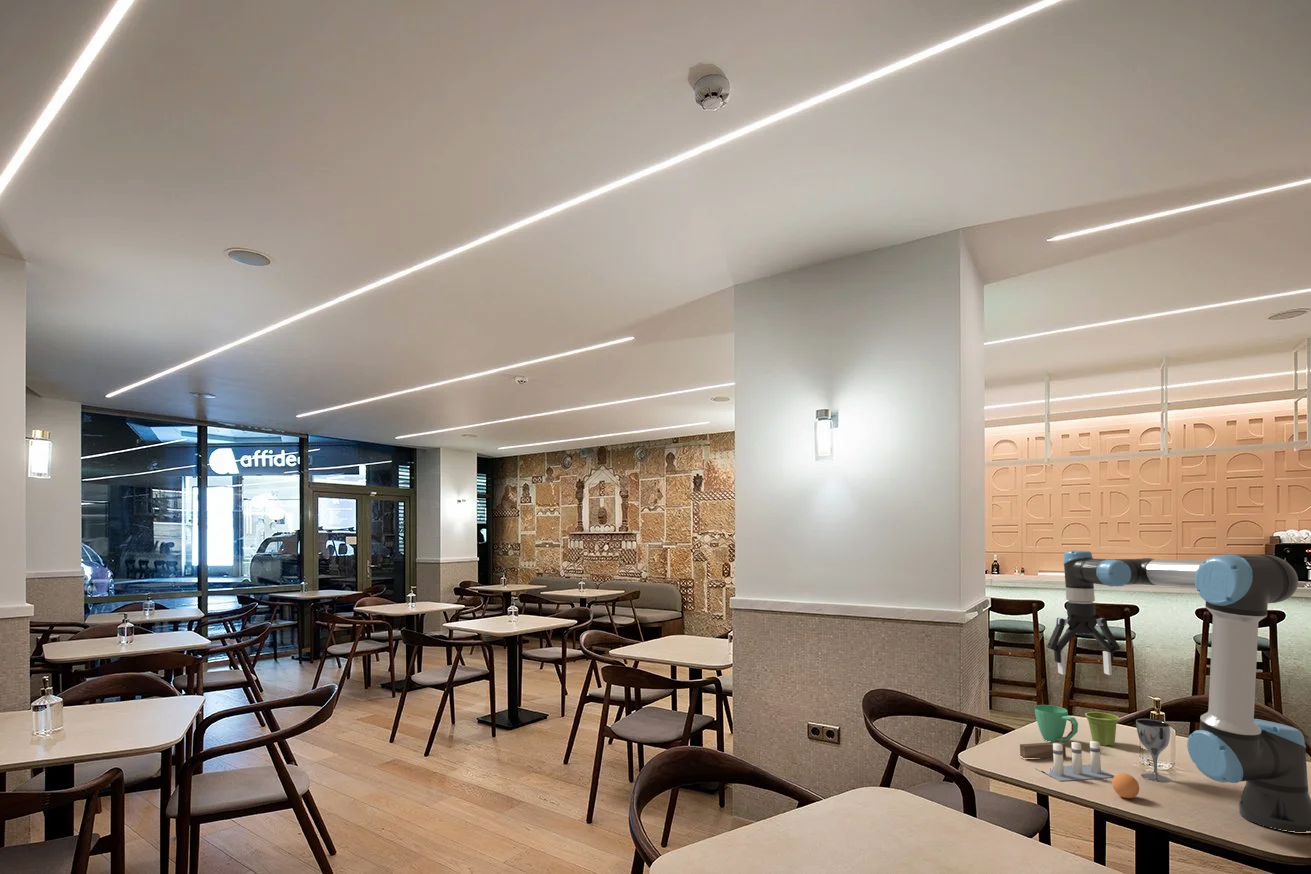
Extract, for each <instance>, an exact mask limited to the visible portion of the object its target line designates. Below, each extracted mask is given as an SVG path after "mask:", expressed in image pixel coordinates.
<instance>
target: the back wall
mask: <svg viewBox="0 0 1311 874" xmlns="http://www.w3.org/2000/svg"><path fill="white" fill-rule="evenodd" d="M1053 743H1059V744H1062V745H1063V759H1064V758H1065V757H1066V758H1067V749H1066V743H1064V742H1063V741H1061V742H1035V743H1020V744H1019V752H1020V756H1022V757H1023V758H1051V759H1054V757H1053ZM1066 758H1065V759H1066Z"/></svg>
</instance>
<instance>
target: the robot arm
mask: <svg viewBox="0 0 1311 874" xmlns="http://www.w3.org/2000/svg"><path fill="white" fill-rule="evenodd" d="M1063 569H1064V581H1065V583H1064V585H1065V599H1066V600H1067V602H1066V603H1065V604H1066V614H1067V617H1066V618H1062V617H1057V618H1056V625H1055V626H1054V627H1055V628H1054V629H1053V631H1052V634H1051V636H1050V638H1049V640H1048V643H1047V645H1046V647H1047V649H1049V650H1053V653H1054V654H1053V655H1054V661H1055V662H1056V663H1057V673H1058V674H1060V675H1063V676H1064V675H1066V665H1065V664H1066V662H1065V661H1066V660H1065V659H1066V658H1065V652H1064V651H1063V649H1064V648H1065V647H1066V646H1067V644H1068V643H1069V641H1071V639H1072V638H1073V636H1075V635H1077V634H1079V635H1081V634H1086V635H1092V637H1093V638H1094V639H1095V640H1096V641H1097V642H1098V644H1099V645H1100V646H1101V647H1102V648H1103V649H1104V650H1103V651H1102V661H1103V663H1102V664H1103V674H1105V675H1108V676H1112V675H1113V672H1112V669H1113V668H1112V664H1114V661H1115V660H1114V654H1115V653H1116V651H1120V650H1121V647H1120V646H1119V644H1118V642H1117V640H1116V639H1115V637H1114V635H1113V633H1112V631H1111V629H1110V627H1109V624H1108V621H1107V619H1106V618H1104V617H1103V618H1102V617H1098V618H1096V604H1095V603H1094V602H1095V601H1096V597H1095V589H1094V588H1095V586H1094V585H1095V584H1096V585H1102V586H1103V585H1104V586H1108V587H1124V586H1132V585H1133V586H1134V585H1138V586H1139V585H1140V586H1141V585H1146V586H1162V587H1178V588H1189V589H1190V588H1191V589H1196V591H1197V592H1199V593H1198V595H1200V597H1201V598H1202V599H1203V600H1204V601H1205V605H1204V606H1205V608H1206V610H1208V611H1209V613H1211V615H1212V623H1211V624H1212V629H1211V630H1212V631H1211V646H1210V647H1211V649H1210V669H1209V670H1210V672H1209V694H1208V710H1207V712H1205V713H1203V714H1201V715H1200V719H1199V729H1198V730H1197V729H1196V730H1194V731H1193V732H1192V733H1190V734H1189V736H1188V738H1187V741H1186V747H1187V751H1188V754H1189V757H1190V759H1191V761H1192V762H1193V764H1195V766H1196V768H1197V770H1198V771H1199V772H1201V773H1202V774H1203V775H1204V776H1206V778H1209V779H1210V780H1212V781H1215V782H1219V783H1230V784H1238V783H1239V782H1240V783H1241V782H1245V784H1244V787H1243V790H1242V793H1241V796H1240V800H1239V803H1238V809H1239V811H1238V813H1239V815H1240V816H1241V817H1242V818H1244V819H1245V820H1247V821H1248V822H1250V823H1253V822H1254V823H1253V824H1255V823H1257V824H1256V825H1258V824H1259V825H1258V826H1261V825H1264V826H1267V827H1272V828H1276V829H1281V830H1287V831H1295V832H1306V831H1311V797H1310V792H1309V782H1308V780H1309V779H1308V778H1309V777H1308V768H1307V767H1308V765H1307V753H1306V749H1307V746H1306V743H1305V737H1304V734H1303V732H1301V730H1300V729H1297V728H1295V727H1293V726H1290V725H1286V724H1283V723H1278V722H1276V721H1275V722H1274V721H1269V720H1265V719H1259V718H1254V717H1255V700H1256V676H1257V662H1258V661H1257V660H1258V659H1257V656H1258V640H1259V639H1258V637H1259V636H1258V633H1259V622H1260V621H1262V620H1263V619H1265V618H1267V616H1268V608H1269V607H1268V606H1269V604H1276V603H1280V602H1284V601H1286V600H1288V599H1290V598H1291V597H1292V596H1293V595H1294V594H1295V593H1296V591H1297V589H1298V585H1299V577H1298V574H1297V571H1296V570H1295V569H1294V567H1293V566H1292V565H1291V564H1290V563H1289V562H1287V561H1286V560H1285V559H1282V558H1280V557H1278V556H1275V555H1270V554H1229V553H1228V554H1227V553H1226V554H1222V555H1214V556H1211V557H1208V558H1207V559H1205V560H1202V559H1200V560H1199V559H1195V560H1194V559H1169V558H1168V559H1166V558H1162V559H1161V558H1151V557H1150V558H1149V557H1148V558H1145V557H1143V558H1094V557H1093V555H1092V552H1091V551H1090V550H1067V551H1065V552H1064V553H1063ZM1067 625H1068V627H1066V626H1067ZM1096 626H1099V628H1100V630H1101V632H1102V634H1103V635H1104V637H1103V636H1102V635H1101V633H1100V632H1099V631H1098V630H1097V628H1096ZM1065 627H1066V630H1065V632H1064V629H1065ZM1063 632H1064V633H1063ZM1062 634H1063V635H1062ZM1264 826H1263V827H1264ZM1267 827H1266V828H1267Z"/></svg>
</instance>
